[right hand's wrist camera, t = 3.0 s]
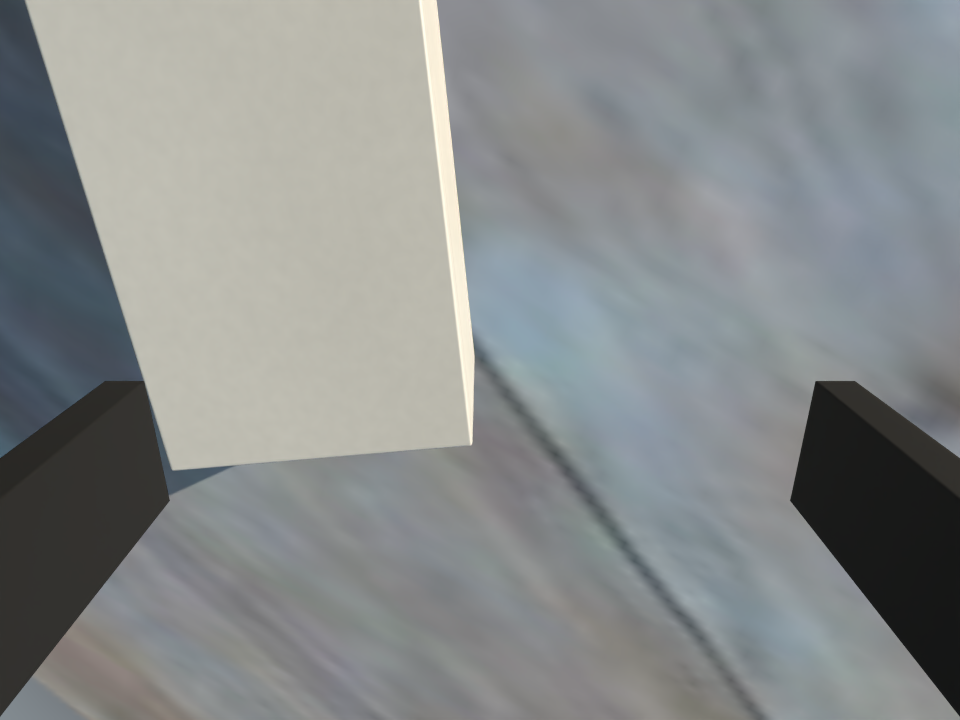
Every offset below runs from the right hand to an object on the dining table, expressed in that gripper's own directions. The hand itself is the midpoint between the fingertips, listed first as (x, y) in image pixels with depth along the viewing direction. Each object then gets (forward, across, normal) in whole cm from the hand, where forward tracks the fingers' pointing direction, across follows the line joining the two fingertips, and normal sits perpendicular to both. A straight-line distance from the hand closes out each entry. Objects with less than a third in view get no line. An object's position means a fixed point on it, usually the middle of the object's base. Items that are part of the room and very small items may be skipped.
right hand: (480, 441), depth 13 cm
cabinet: (+16, +6, -5) cm, 18 cm away
